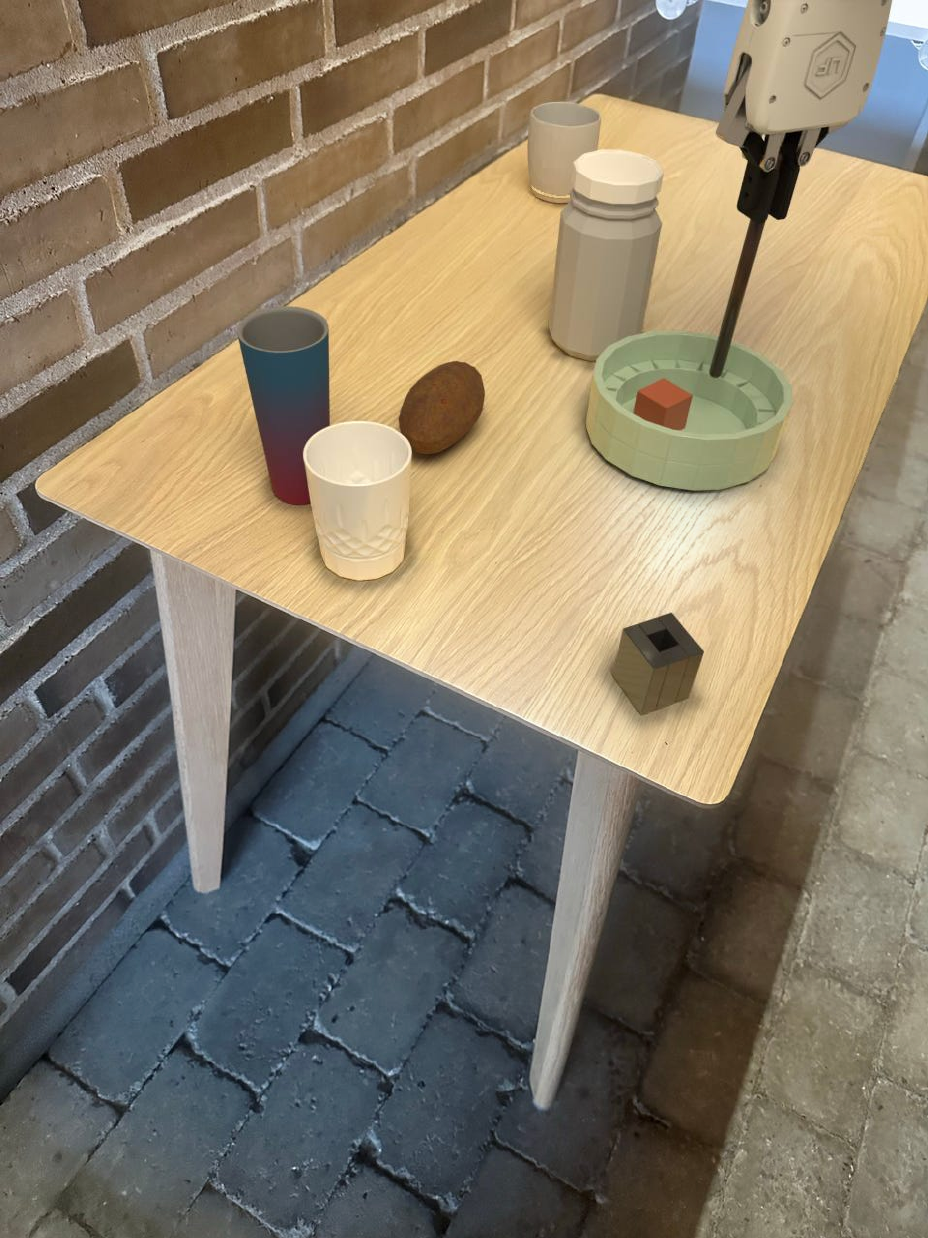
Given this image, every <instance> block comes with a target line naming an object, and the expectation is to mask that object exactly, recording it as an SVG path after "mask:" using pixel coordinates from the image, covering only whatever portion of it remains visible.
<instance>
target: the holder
mask: <svg viewBox="0 0 928 1238" xmlns="http://www.w3.org/2000/svg"><path fill="white" fill-rule="evenodd" d="M620 635H621V636H620V639H619V642H618V643H619V644H618V647H617V648H618V649H617V653H616V657H615V661H614V665H613V669H612V677H613V679H614V680H615V682H616V683H617V684H618V685H619V687H620V688H621V690H622V691H623V693H624V694H625V695H626V697H627V698H628V699H629V701H630V702H631V704H632V705H633V706H634V707H635V709H636V710H637V712H638V713H639V715H640V716H644V715H646V714H648V713H652V712H655V711H658V710H660V709H663V708H666V707H669V706H671V705H675V704H677V703H679V702H682V701H685V700H687V699H689V698H690V695H691V693H692V690H693V687H694V684H695V681H696V678H697V674H698V672H699V669H700V665H701V664H702V663H701V662H702V659H703V657H704V654H705V651H704V650H703V649H702V647H701V645H699V644H698V642H697V641H696V640H695V639H694V638H693V636H692V635H691V634H690V633H689V631H688V630H687V629H686V628H685V627H684V625H683V624H682V623H681V621H680V620H679V619H678V618H677V617H676V616H675V614H674V613H673V612H668V613H665V614H663V615H659V616H658V617H656V616H655V617H653V618H650V619H647V620H644V621H641V622H638V623H635V624H631V625H629V626H626V627H623V628H622V631H621V634H620Z"/></svg>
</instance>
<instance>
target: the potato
mask: <svg viewBox="0 0 928 1238" xmlns="http://www.w3.org/2000/svg"><path fill="white" fill-rule="evenodd" d="M485 398H486V391H485V385H484V381H483V377H482V374H481V373H480V371H478V369H477V368H476V367H475V366H473V365H470V364H469V363H467V362H465V361H459V360H452V361H448V362H445V363H442V364H439V365H437V366H436V367H434V368H433V369H431V370H429V371H428V372H426V373H425V374H424V375H422V376H421V377H420V378H419V379H418V380H417V381H416V382H415V383H413V384H412V386H411V387H410V388H409V389H408V391H407V393H406V395H405V397H404V400H403V403H402V406H401V409H400V412H399V415H398V424H399V430H400V433H401V434H402V435H403V436H404V437H405V438H406V439H407V440H408V442H409V444H410V446H411V450H413V451H414V452H416V453H418V454H423V455H432V454H437V453H440V452H442V451H444V450H446V449H448V448H450V447H451V446H452V445H454V444H455V443H456V442H458V441H459V440H460V439H461V438H462V437H463V436H465V435H466V434H467V433H468V431H470V429H472V427H473V426H474V425H475V424H476V423H477V422H478V420H479V418H480V416H481V414H482V412H483V410H484V405H485Z"/></svg>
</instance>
